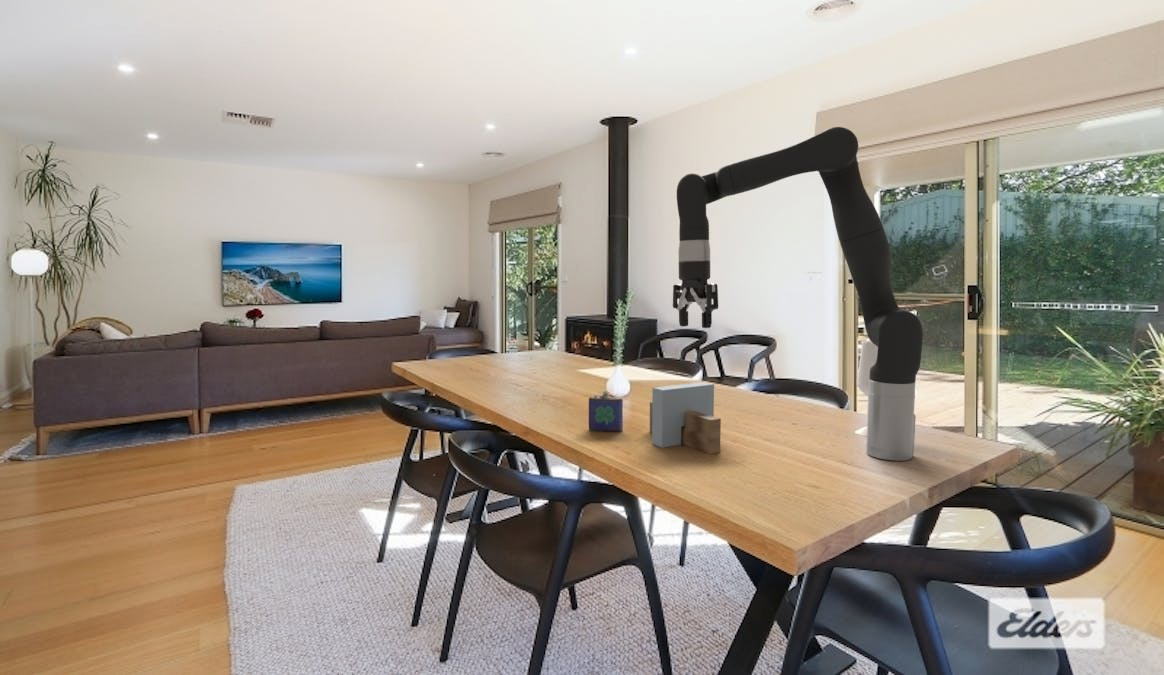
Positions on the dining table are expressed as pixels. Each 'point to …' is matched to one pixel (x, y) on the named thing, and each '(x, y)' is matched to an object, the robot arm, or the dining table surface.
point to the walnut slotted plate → (699, 431)
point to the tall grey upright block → (678, 409)
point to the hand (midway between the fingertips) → (694, 326)
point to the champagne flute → (866, 373)
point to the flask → (605, 413)
